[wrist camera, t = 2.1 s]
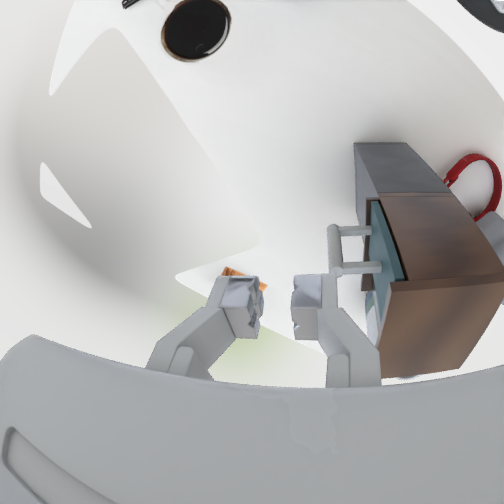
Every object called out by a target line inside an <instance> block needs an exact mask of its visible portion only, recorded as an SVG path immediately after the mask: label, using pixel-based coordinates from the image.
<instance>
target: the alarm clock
mask: <svg viewBox="0 0 504 504" xmlns="http://www.w3.org/2000/svg"><path fill="white" fill-rule="evenodd" d="M476 224H477V225H478V227H479V228H480V230H481V231H482V232H483V234H484V235H485V237H486V238H487V240H488V241H489V243H490V244H491V246H492V247H493V249H494V251H495V252H496V254H497V255H498V257H499V259H500V260H501V262H502V264H503V265H504V220H503V219H502V218H501V217H500V216H499V215H498V214H497V213H495V212H493V211H491V212H488V213H487V214H486V215H485V216H483V217H482V218H481V219H480V220H478V221H477V222H476ZM501 304H503V305H504V298H503V300H502V302H501Z"/></svg>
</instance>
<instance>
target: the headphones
mask: <svg viewBox="0 0 504 504" xmlns="http://www.w3.org/2000/svg"><path fill="white" fill-rule="evenodd" d="M477 160H486V161H487V162H488V164H489V165H490V167H491V169H492V172H493V176H494V190H493V194H492V197H491V200H490V202H489V204H488V205H487V207H486V208H485V209H484V211H483V212H482V213H481V214H480V215H479V216H478V217H475V218H474V219H473V220H474V221H475V222H477V221H478V220H480V219H481V218H482V217H483V216H485V215H486V214H487V213H488V212H491V211H493V212H494V211H495V210H496V208H497V206H498V204H499V201H500V198H501V192H502V179H501V175H500V172H499V169H498V167H497V166H496V164H495V163H494V162H493V161H491V160H490V159H488V158H486V157H484V156H482V155H479V154H469V155H467V156H465V157H463V158H462V159H460V160H459V161H458V162H457V163H456V164H455V165H454V166H453V168H452V169H451V170H450V171H449V172H448V173H447V175H446V178H445V179H444V180H443V182H444V183H446V182H447V181H448V180H449V183H448V184H447V185H446V186H447V187H448V188H449V187H450V186H451V185H452V184H453V183H454V182H455V181H456V180H457V179H458V176H459V174H460V173H461V172H462V171H463V170H464V169H465V168H466V167H467V166H468V165H469V164H470V163H472V162H474V161H477Z"/></svg>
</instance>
